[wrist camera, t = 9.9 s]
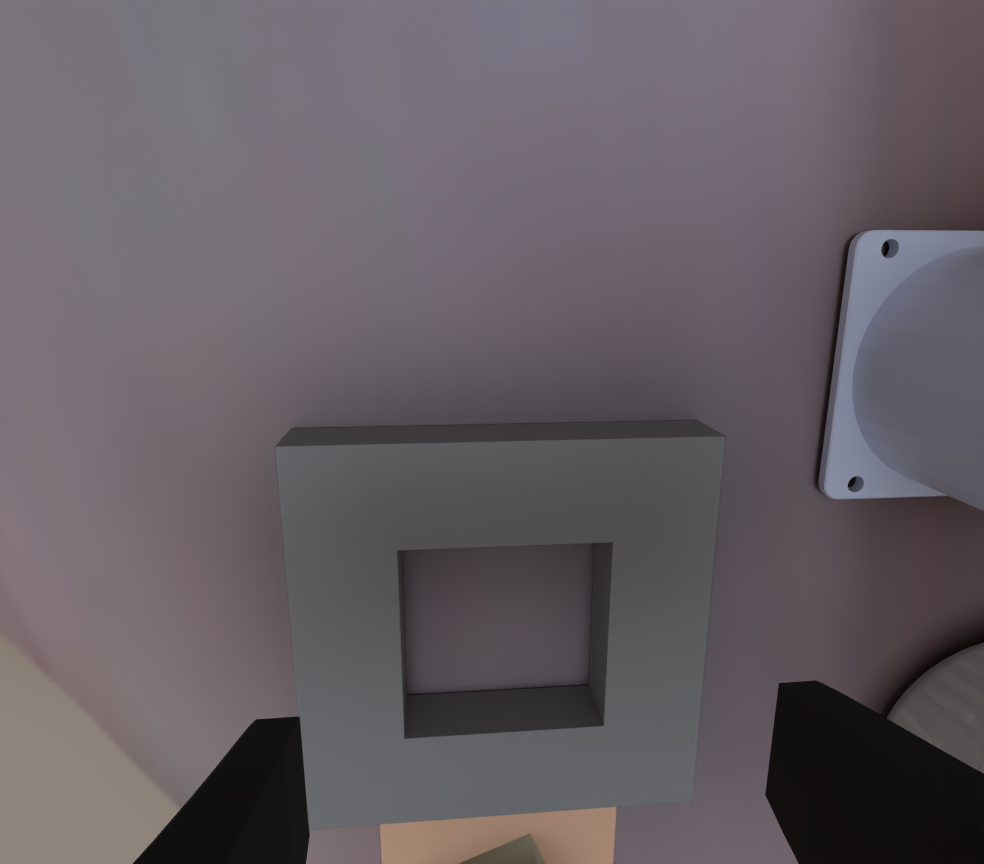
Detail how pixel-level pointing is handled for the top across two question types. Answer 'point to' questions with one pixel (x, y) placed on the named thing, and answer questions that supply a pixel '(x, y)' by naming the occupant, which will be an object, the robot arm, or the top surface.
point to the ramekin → (948, 706)
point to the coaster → (504, 837)
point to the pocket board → (495, 523)
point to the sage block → (511, 853)
